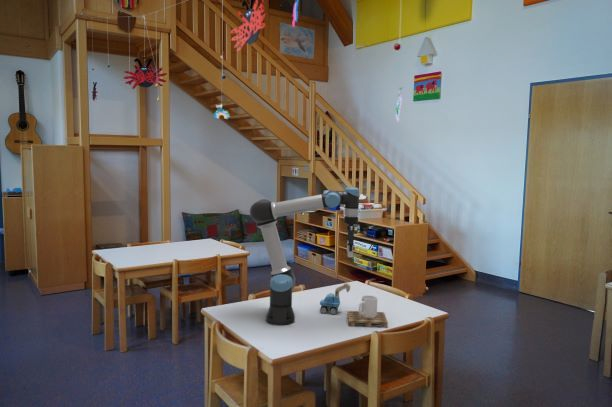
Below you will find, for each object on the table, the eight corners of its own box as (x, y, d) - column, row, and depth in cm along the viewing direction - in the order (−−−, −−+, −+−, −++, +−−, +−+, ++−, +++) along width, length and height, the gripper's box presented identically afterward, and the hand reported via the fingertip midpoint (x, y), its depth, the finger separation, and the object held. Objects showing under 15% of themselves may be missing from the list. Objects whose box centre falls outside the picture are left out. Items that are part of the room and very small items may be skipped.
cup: (379, 316, 263) (380, 298, 262) (364, 321, 255) (365, 301, 254) (368, 312, 269) (369, 294, 268) (352, 316, 262) (353, 298, 261)
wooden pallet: (348, 326, 256) (349, 320, 255) (347, 316, 272) (347, 310, 271) (387, 327, 255) (387, 321, 255) (383, 317, 271) (383, 312, 271)
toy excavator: (348, 316, 272) (349, 285, 270) (318, 313, 275) (319, 283, 274) (349, 311, 280) (351, 281, 279) (321, 308, 284) (321, 279, 282)
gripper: (359, 219, 254) (358, 259, 256) (356, 213, 279) (355, 250, 281) (345, 218, 255) (343, 259, 257) (343, 213, 279) (342, 249, 281)
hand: (349, 254), depth 269 cm, fingers open, 13 cm apart
